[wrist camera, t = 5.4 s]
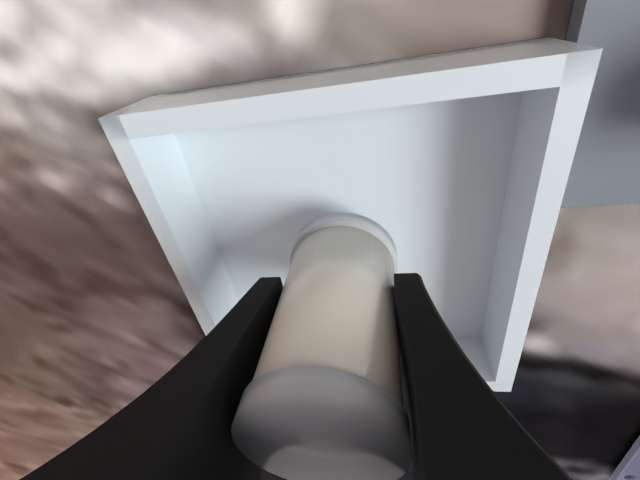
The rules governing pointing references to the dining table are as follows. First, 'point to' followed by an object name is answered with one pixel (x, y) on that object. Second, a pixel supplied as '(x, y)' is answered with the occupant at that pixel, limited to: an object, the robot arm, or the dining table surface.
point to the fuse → (331, 362)
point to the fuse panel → (608, 106)
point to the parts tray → (372, 177)
